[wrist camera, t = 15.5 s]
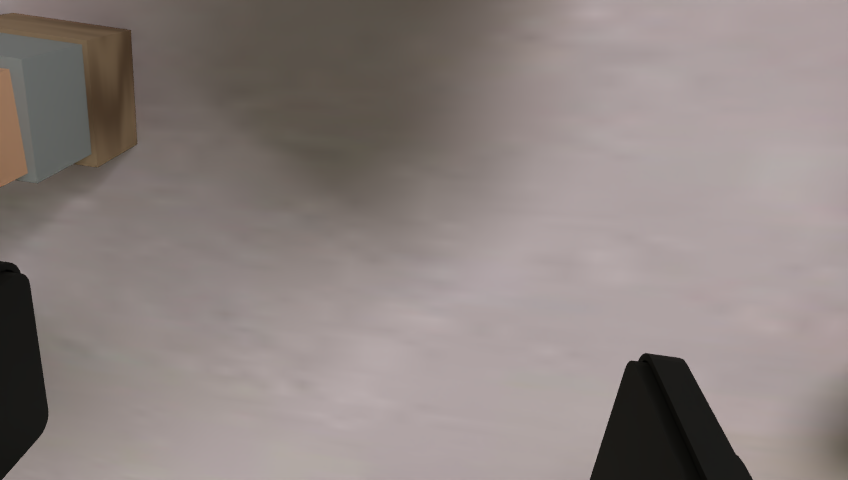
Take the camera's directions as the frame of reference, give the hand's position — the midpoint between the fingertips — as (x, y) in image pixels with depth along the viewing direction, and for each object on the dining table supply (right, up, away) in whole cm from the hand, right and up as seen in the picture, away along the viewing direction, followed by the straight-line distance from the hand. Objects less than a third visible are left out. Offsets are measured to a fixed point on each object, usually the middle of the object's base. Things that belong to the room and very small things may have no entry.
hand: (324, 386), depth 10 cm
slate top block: (-20, +10, +25) cm, 33 cm away
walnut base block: (-20, +12, +29) cm, 37 cm away
